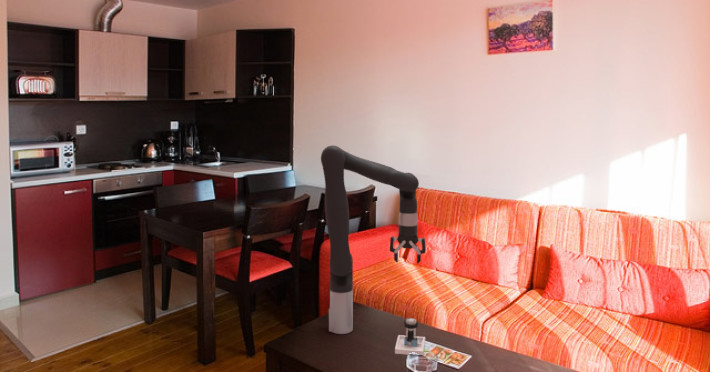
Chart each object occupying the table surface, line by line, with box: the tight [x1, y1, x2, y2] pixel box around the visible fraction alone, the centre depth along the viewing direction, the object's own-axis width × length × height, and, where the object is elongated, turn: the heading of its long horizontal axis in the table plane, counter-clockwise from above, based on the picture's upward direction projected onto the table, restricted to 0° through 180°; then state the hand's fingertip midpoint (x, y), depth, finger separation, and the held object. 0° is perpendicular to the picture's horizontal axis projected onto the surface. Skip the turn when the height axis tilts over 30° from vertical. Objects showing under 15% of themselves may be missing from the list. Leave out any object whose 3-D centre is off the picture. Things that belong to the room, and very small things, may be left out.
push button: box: [403, 317, 421, 347], centre depth 204 cm, size 7×5×10 cm
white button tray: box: [394, 334, 426, 356], centre depth 204 cm, size 10×12×2 cm
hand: (407, 262), depth 217 cm, fingers open, 8 cm apart
